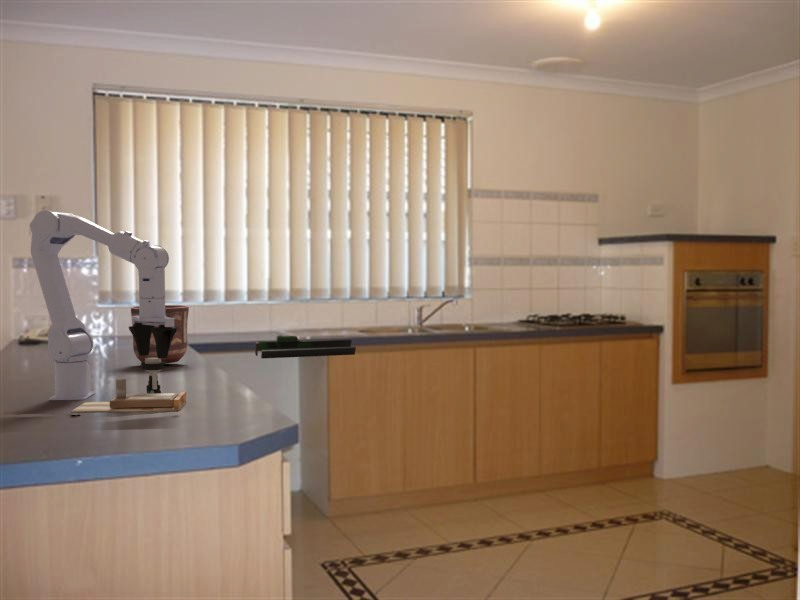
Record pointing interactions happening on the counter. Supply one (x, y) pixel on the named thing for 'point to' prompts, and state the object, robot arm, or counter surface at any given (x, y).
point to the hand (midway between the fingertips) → (153, 356)
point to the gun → (303, 347)
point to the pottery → (179, 338)
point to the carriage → (140, 398)
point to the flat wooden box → (105, 407)
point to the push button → (153, 373)
